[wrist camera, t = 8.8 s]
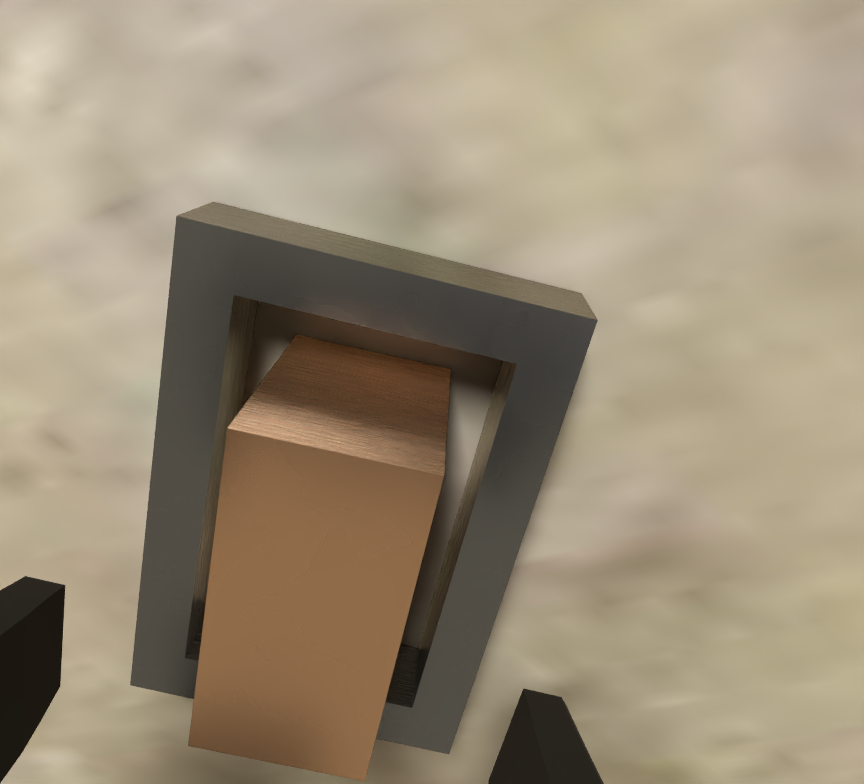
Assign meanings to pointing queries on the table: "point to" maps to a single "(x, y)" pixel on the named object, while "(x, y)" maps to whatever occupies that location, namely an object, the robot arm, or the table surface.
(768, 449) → the table surface
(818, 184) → the table surface
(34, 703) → the robot arm
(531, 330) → the duct collar
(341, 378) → the brown rectangular block
